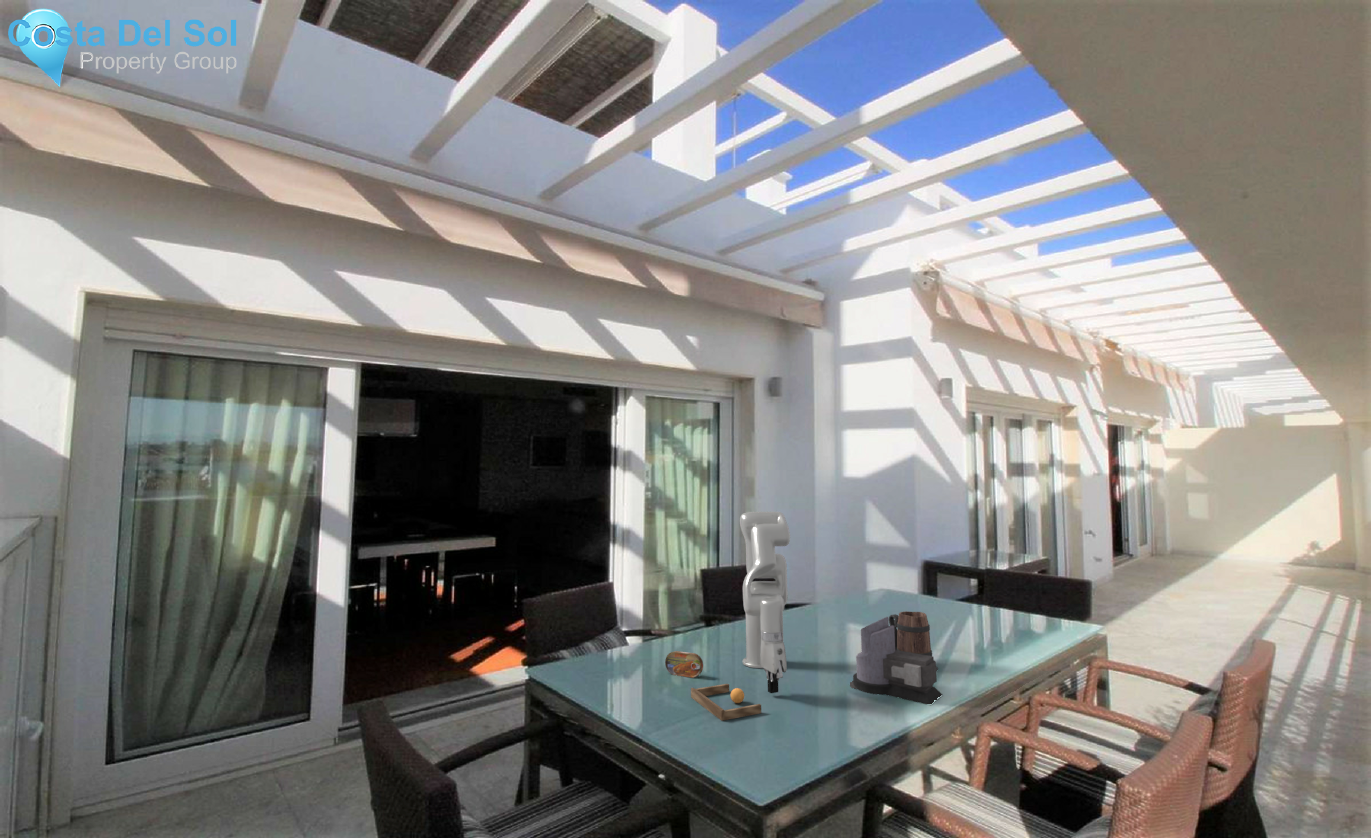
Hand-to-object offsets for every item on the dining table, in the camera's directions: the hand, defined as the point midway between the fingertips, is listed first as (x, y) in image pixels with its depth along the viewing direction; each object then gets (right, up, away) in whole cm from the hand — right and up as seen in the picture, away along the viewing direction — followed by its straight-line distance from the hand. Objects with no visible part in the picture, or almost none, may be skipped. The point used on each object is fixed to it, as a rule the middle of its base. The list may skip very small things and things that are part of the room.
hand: (773, 692), depth 208 cm
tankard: (+57, -4, +33) cm, 67 cm away
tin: (-30, -4, +22) cm, 37 cm away
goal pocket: (-17, -1, -8) cm, 18 cm away
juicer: (+42, -2, +5) cm, 42 cm away
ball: (-12, +1, -6) cm, 14 cm away
